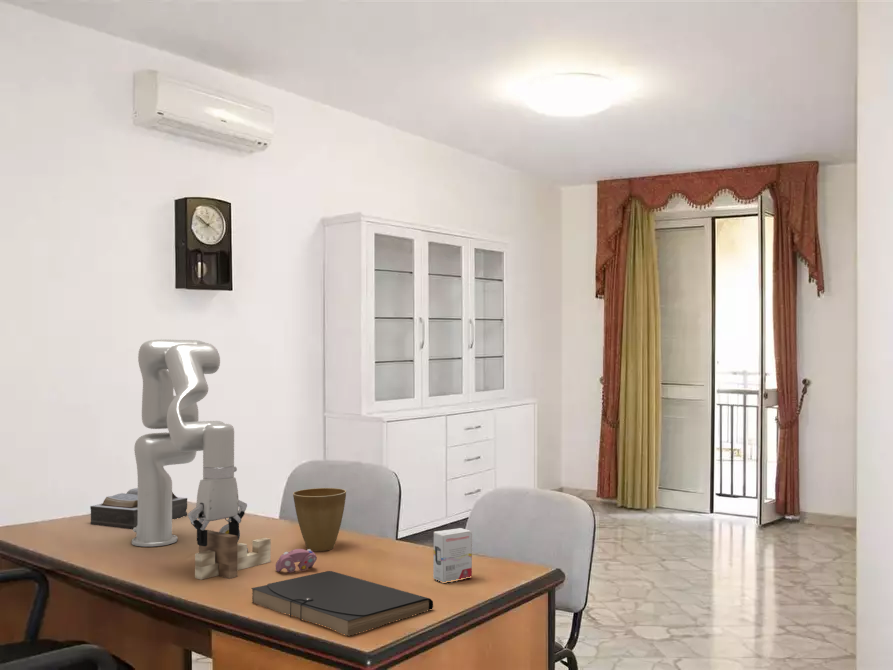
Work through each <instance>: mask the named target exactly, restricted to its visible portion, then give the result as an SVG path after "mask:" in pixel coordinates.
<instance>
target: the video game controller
mask: <svg viewBox="0 0 893 670" xmlns="http://www.w3.org/2000/svg"><path fill="white" fill-rule="evenodd" d="M317 559H318V558H317V555H316V554H315V551H311V549H307V550H306V549H304V548H295V549H293V550H290V551H285V552H283V554H281V555H280V556H279V558H278V560H277V561H276V563H275V571H276V572H278V573H279V572H281V571H282V570H283V569H285V570H286V571H287V572H288V573H294V572H295V571H296V569H297V567H298V570H299V571H300V572H303V571H306V570H307V569H308V568H312V567H313V566H314V564H315V562H316V561H317ZM295 563H298V565H297V567H296V564H295Z"/></svg>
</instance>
